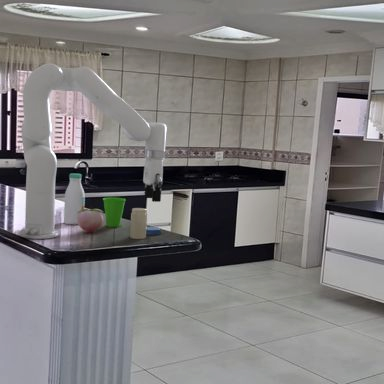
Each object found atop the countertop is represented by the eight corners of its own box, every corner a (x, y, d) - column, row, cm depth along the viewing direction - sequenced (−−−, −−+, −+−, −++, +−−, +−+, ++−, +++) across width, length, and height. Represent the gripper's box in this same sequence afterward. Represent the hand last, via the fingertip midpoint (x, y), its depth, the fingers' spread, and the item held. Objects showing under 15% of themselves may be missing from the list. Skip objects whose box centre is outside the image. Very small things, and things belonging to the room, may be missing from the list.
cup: (117, 223, 234) (118, 197, 233) (129, 227, 228) (130, 200, 227) (97, 225, 228) (98, 197, 227) (109, 228, 222) (110, 201, 220)
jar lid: (161, 235, 216) (161, 230, 216) (143, 234, 214) (143, 229, 214) (159, 231, 223) (160, 227, 222) (142, 231, 221) (142, 226, 221)
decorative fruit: (99, 230, 217) (100, 204, 216) (104, 234, 210) (105, 207, 209) (74, 230, 213) (75, 204, 212) (78, 235, 206) (79, 207, 205)
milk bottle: (77, 225, 224) (79, 175, 222) (60, 223, 225) (61, 173, 223) (87, 222, 231) (89, 174, 229) (70, 220, 233) (71, 172, 231)
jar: (143, 239, 205) (144, 210, 204) (127, 238, 206) (129, 209, 205) (148, 236, 211) (149, 208, 210) (132, 235, 212) (134, 207, 211)
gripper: (138, 153, 221) (136, 196, 223) (151, 156, 206) (149, 202, 208) (157, 154, 224) (155, 196, 226) (171, 157, 209) (168, 203, 211)
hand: (152, 199), depth 217 cm, fingers open, 9 cm apart
